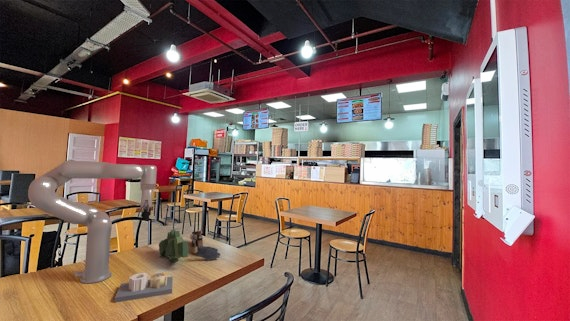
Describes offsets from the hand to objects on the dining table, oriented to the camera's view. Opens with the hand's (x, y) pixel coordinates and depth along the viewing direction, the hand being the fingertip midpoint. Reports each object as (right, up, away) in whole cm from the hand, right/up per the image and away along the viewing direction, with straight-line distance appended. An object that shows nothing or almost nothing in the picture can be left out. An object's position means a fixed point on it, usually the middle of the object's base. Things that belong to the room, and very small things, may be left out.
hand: (146, 217), depth 136 cm
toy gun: (+17, -30, +32) cm, 47 cm away
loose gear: (+11, -26, -25) cm, 38 cm away
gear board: (+14, -29, -24) cm, 40 cm away
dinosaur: (+11, -29, +11) cm, 33 cm away
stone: (+31, -30, +13) cm, 45 cm away
